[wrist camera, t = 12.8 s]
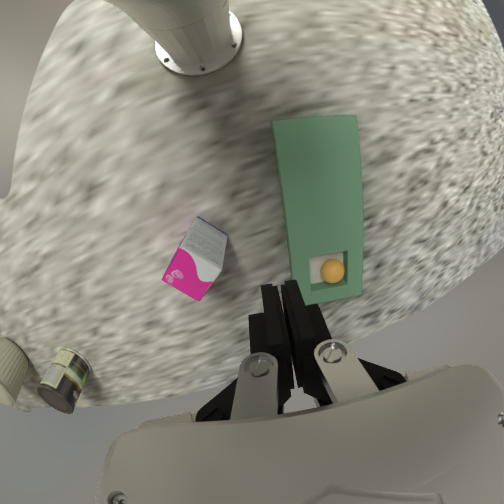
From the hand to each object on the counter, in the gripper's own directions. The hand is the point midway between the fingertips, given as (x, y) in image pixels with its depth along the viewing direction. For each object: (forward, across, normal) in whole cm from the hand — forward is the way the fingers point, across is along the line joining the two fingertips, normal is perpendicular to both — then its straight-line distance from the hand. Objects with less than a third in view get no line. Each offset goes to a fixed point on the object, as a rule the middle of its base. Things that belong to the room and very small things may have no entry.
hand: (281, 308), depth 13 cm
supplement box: (+29, +9, +7) cm, 31 cm away
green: (+29, -10, +6) cm, 31 cm away
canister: (+29, +80, +31) cm, 91 cm away
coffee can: (+29, +52, +33) cm, 68 cm away
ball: (+27, -11, +15) cm, 33 cm away
